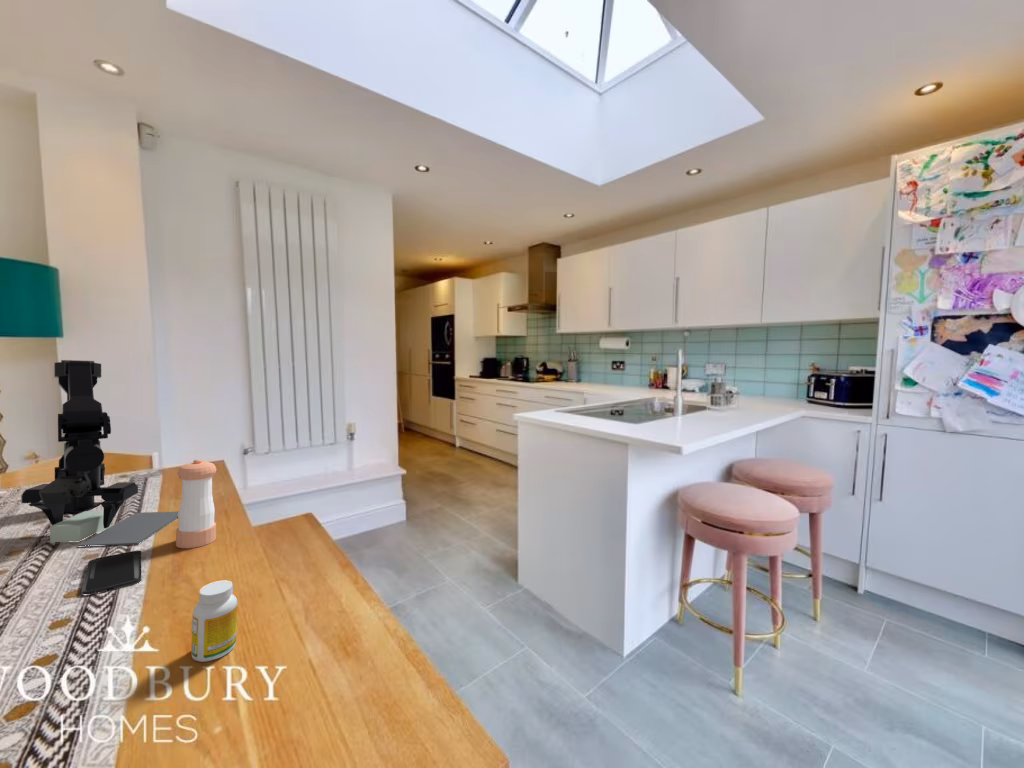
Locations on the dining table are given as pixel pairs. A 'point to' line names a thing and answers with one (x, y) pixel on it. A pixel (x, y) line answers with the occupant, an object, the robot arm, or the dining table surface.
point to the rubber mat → (132, 529)
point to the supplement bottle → (214, 621)
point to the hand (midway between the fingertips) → (82, 528)
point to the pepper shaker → (196, 505)
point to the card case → (77, 527)
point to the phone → (112, 572)
